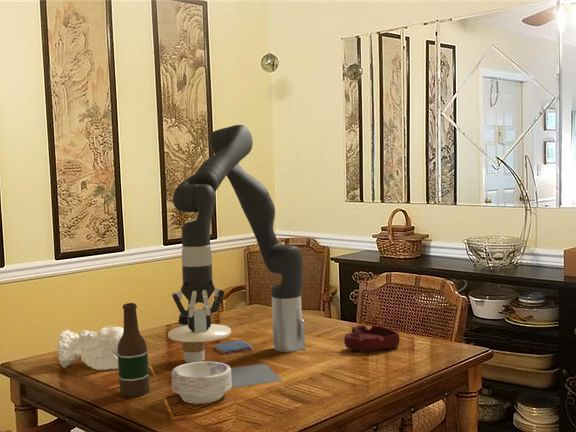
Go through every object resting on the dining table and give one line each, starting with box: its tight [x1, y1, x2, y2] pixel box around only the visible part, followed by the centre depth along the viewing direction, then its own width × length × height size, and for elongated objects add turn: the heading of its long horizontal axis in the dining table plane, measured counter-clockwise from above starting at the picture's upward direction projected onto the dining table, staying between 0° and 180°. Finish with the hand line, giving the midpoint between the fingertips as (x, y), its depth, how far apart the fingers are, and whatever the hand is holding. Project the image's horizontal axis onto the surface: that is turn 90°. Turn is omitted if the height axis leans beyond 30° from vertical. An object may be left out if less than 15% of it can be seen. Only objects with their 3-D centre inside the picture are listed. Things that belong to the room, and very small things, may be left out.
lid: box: [167, 307, 232, 343], centre depth 180 cm, size 16×16×6 cm
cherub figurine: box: [56, 326, 124, 371], centre depth 216 cm, size 13×12×20 cm
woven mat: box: [213, 339, 255, 356], centre depth 227 cm, size 10×11×2 cm
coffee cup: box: [178, 313, 206, 363], centre depth 214 cm, size 8×8×15 cm
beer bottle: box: [117, 302, 150, 398], centre depth 187 cm, size 8×8×24 cm
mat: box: [230, 363, 283, 389], centre depth 197 cm, size 17×17×1 cm
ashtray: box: [343, 324, 400, 353], centre depth 223 cm, size 18×16×5 cm
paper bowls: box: [171, 361, 232, 405], centre depth 181 cm, size 15×15×8 cm
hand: (199, 329), depth 180 cm, fingers closed on lid, 3 cm apart
